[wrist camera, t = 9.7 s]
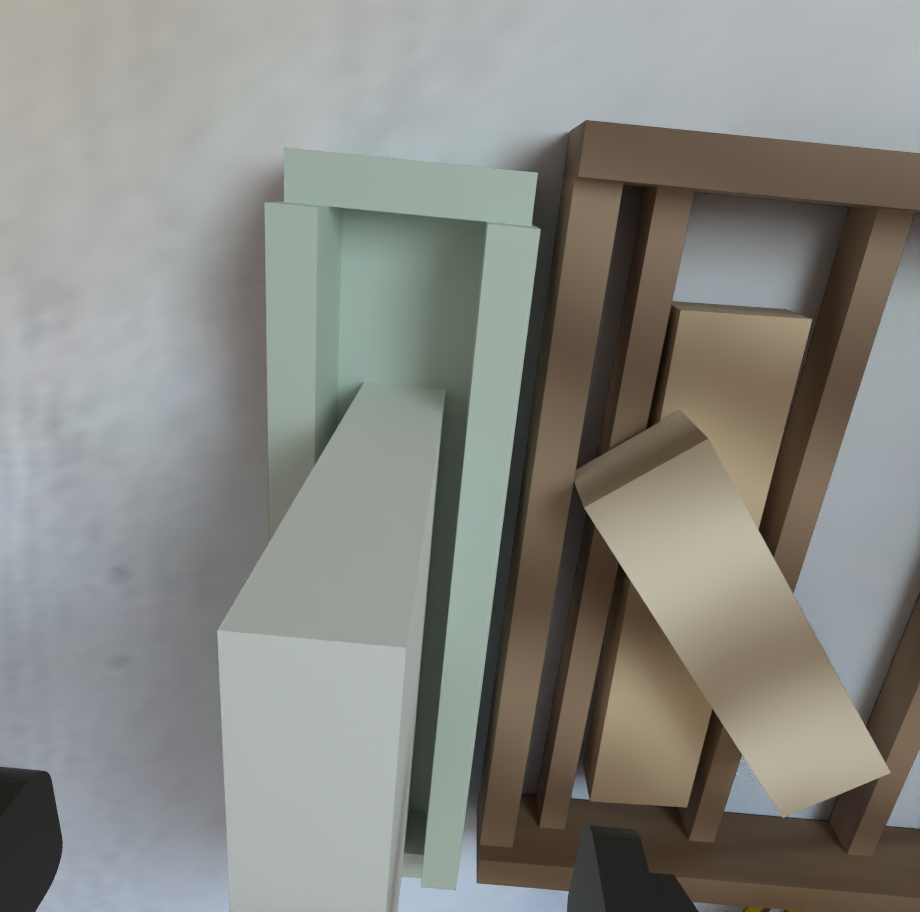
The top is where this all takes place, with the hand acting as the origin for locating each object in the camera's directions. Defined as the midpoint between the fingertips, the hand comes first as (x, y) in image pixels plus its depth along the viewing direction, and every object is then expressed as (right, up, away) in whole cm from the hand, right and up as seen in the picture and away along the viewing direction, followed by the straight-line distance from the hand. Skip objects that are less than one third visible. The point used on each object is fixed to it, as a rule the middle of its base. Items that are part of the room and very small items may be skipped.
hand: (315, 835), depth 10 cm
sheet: (0, +1, +9) cm, 9 cm away
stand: (0, +3, +9) cm, 10 cm away
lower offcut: (+8, +3, +10) cm, 13 cm away
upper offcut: (+9, +2, +8) cm, 12 cm away
